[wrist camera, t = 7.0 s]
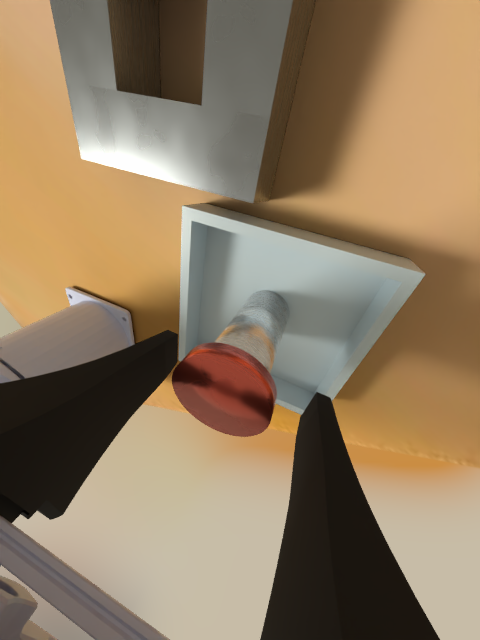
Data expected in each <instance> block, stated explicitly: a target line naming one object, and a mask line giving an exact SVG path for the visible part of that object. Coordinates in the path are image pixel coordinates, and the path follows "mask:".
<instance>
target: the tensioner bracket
mask: <svg viewBox="0 0 480 640" xmlns="http://www.w3.org/2000/svg"><path fill="white" fill-rule="evenodd" d="M315 1H316V0H208V1H207V19H206V36H205V54H204V71H203V89H202V105H196V104H190V103H185V102H179V101H173V100H168V99H162V98H161V94H160V50H159V6H158V0H50V4H51V9H52V14H53V19H54V24H55V29H56V34H57V39H58V44H59V49H60V54H61V59H62V64H63V69H64V74H65V79H66V84H67V89H68V94H69V99H70V104H71V109H72V114H73V119H74V124H75V129H76V134H77V139H78V144H79V149H80V154H81V159H84V160H88V161H92V162H96V163H100V164H103V165H107V166H111V167H115V168H119V169H123V170H126V171H130V172H134V173H138V174H142V175H146V176H149V177H153V178H157V179H161V180H165V181H169V182H173V183H176V184H180V185H184V186H188V187H192V188H196V189H199V190H203V191H207V192H211V193H215V194H219V195H222V196H226V197H230V198H234V199H238V200H242V201H246V202H249V203H258V202H263V201H269V199H270V195H271V190H272V186H273V182H274V177H275V173H276V169H277V164H278V160H279V156H280V152H281V147H282V143H283V139H284V134H285V130H286V126H287V121H288V117H289V113H290V109H291V104H292V100H293V96H294V91H295V87H296V83H297V78H298V74H299V70H300V66H301V61H302V57H303V53H304V48H305V44H306V40H307V35H308V31H309V27H310V23H311V18H312V14H313V10H314V5H315Z"/></svg>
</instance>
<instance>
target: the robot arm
mask: <svg viewBox="0 0 480 640" xmlns="http://www.w3.org/2000/svg"><path fill="white" fill-rule="evenodd" d="M66 293H67V296H68V299H69V302H70V305H71V306H70V307H68V308H65V309H63V310H61V311H59V312H56V313H54V314H52V315H50V316H48V317H45V318H43V319H41V320H39V321H36V322H34V323H32V324H30V325H28V326H25V327H23V328H21V329H19V330H16V331H14V332H12V333H10V334H8V335H5V336H3V337H1V338H0V566H1V565H2V566H3V567H4V568H6V569H7V570H8V571H10V572H11V573H12V574H13V575H15V576H16V577H17V578H18V579H20V580H21V581H22V582H24V583H25V584H26V585H27V586H29V587H30V588H31V589H32V590H33V591H35V592H36V593H37V594H38V595H40V596H41V597H42V598H43V599H45V600H46V601H47V602H49V603H50V604H51V605H52V606H54V607H55V608H56V609H57V610H59V611H60V612H61V613H62V614H64V615H65V616H66V617H68V618H69V619H70V620H71V621H73V622H74V623H75V624H76V625H78V626H79V627H80V628H81V629H82V630H84V631H85V632H86V633H88V634H89V635H90V636H91V637H93V638H94V639H95V640H170V639H168V638H167V637H165V636H164V635H163V634H161V633H160V632H159V631H157V630H156V629H155V628H153V627H152V626H151V625H149V624H148V623H146V622H145V621H144V620H142V619H141V618H139V617H138V616H137V615H135V614H134V613H133V612H131V611H130V610H129V609H127V608H126V607H125V606H123V605H122V604H121V603H119V602H118V601H116V600H115V599H114V598H112V597H111V596H110V595H108V594H107V593H105V592H104V591H103V590H101V589H100V588H99V587H97V586H96V585H95V584H93V583H92V582H91V581H89V580H88V579H86V578H85V577H84V576H82V575H81V574H80V573H78V572H77V571H76V570H74V569H73V568H71V567H70V566H69V565H67V564H66V563H64V562H63V561H62V560H61V559H59V558H58V557H56V556H55V555H54V554H52V553H51V552H50V551H48V550H47V549H45V548H44V547H43V546H41V545H40V544H39V543H37V542H36V541H34V540H33V539H32V538H31V537H29V536H28V535H26V534H25V533H24V532H22V531H21V530H20V529H18V528H17V527H16V526H14V525H13V524H11V523H12V522H13V521H14V520H15V519H16V518H17V517H18V516H19V515H20V514H21V515H23V516H24V517H26V518H27V519H29V518H30V517H31V516H32V515H33V514H34V513H35V512H36V511H39V512H40V513H42V514H43V515H45V516H46V517H47V518H49V519H54V518H57V517H59V516H61V515H63V514H64V512H65V510H66V509H67V507H68V506H69V504H70V503H71V501H72V499H73V498H74V496H75V494H76V493H77V492H78V490H79V489H80V487H81V486H82V484H83V482H84V481H85V479H86V478H87V477H88V475H89V474H90V472H91V471H92V469H93V468H94V466H95V465H96V463H97V462H98V460H99V459H100V458H101V456H102V455H103V453H104V452H105V451H106V449H107V448H108V447H109V445H110V444H111V442H112V441H113V439H114V438H115V437H116V436H117V434H118V433H119V431H120V430H121V429H122V428H123V426H124V425H125V424H126V422H127V421H128V420H129V419H130V417H131V416H132V415H133V414H134V413H135V412H136V410H137V409H138V408H139V407H140V406H141V405H142V404H143V403H144V402H145V401H146V400H147V398H148V397H149V396H150V395H151V394H152V393H153V392H154V391H155V390H156V389H157V387H158V386H159V385H160V384H161V383H162V382H163V381H164V380H165V378H166V377H167V376H168V374H169V373H170V372H171V370H172V369H173V367H174V366H175V364H176V363H177V350H178V334H176V333H174V332H171V331H169V330H167V331H164V332H162V333H160V334H157V335H155V336H153V337H151V338H148V339H146V340H144V341H141V342H139V343H137V344H135V343H134V336H133V328H132V321H131V314H130V312H129V311H128V310H126V309H124V308H121V307H119V306H116V305H114V304H111V303H109V302H106V301H104V300H102V299H99V298H97V297H94V296H92V295H89V294H87V293H85V292H82V291H80V290H77V289H75V288H72V287H67V288H66ZM37 604H38V603H37V602H36V600H35V599H34V598H33V597H32V595H31V594H30V593H29V592H28V591H27V590H26V589H25V588H24V587H23V586H21V585H20V584H18V583H17V582H14V581H12V580H10V579H7V578H5V577H2V576H0V640H58V639H56V638H55V637H53V636H52V635H50V634H49V633H48V632H46V631H45V630H43V629H42V628H40V627H39V626H37V625H36V624H35V623H33V622H32V621H30V620H29V618H30V617H31V615H32V614H33V613H34V611H35V610H36V608H37ZM260 640H440V639H439V637H438V635H437V634H436V632H435V630H434V629H433V627H432V625H431V623H430V622H429V620H428V618H427V616H426V614H425V613H424V611H423V609H422V607H421V606H420V604H419V602H418V600H417V599H416V597H415V595H414V593H413V591H412V589H411V587H410V586H409V584H408V582H407V580H406V578H405V576H404V574H403V572H402V570H401V569H400V567H399V565H398V563H397V561H396V559H395V557H394V555H393V554H392V552H391V550H390V548H389V546H388V544H387V542H386V540H385V538H384V536H383V534H382V532H381V530H380V528H379V525H378V524H377V521H376V519H375V517H374V515H373V513H372V511H371V508H370V506H369V504H368V502H367V500H366V497H365V495H364V493H363V490H362V488H361V486H360V483H359V481H358V478H357V476H356V473H355V471H354V468H353V465H352V463H351V460H350V457H349V455H348V452H347V449H346V446H345V443H344V440H343V437H342V434H341V431H340V428H339V425H338V421H337V418H336V415H335V411H334V408H333V404H332V400H331V398H330V397H328V396H326V395H323V394H321V393H318V392H316V393H315V395H314V396H313V398H312V400H311V401H310V403H309V404H308V406H307V407H306V409H305V411H304V412H303V414H302V415H301V417H300V422H299V426H298V431H297V436H296V443H295V452H294V462H293V472H292V483H291V493H290V500H289V507H288V512H287V518H286V523H285V529H284V534H283V539H282V544H281V549H280V554H279V559H278V564H277V569H276V573H275V578H274V583H273V587H272V591H271V596H270V600H269V605H268V609H267V613H266V618H265V622H264V626H263V631H262V635H261V639H260Z"/></svg>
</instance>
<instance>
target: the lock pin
mask: <svg viewBox="0 0 480 640" xmlns="http://www.w3.org/2000/svg"><path fill="white" fill-rule="evenodd" d="M288 319H289V307H288V304H287V302H286V301H285V300H284V299H283V297H281V296H280V295H279V294H277V293H275V292H272V291H268V290H261V291H257V292H255V293H253V294H252V295H251V296H250V297H249V298H248V299H247V300H246V302H245V303H244V304H243V306H242V307H241V308H240V310H239V311H238V312H237V313H236V315H235V316H234V317H233V319H232V320H231V321H230V322H229V324H228V325H227V326H226V328H225V329H224V330H223V331H222V333H221V334H220V335H219V337H218V338H217V339H216V341H215V342H212V343H204V344H201V345H198V346H196V347H194V348H193V349H192V350H191V351H190V352H189V353H188V354H187V355H186V357H185V358H184V359H183V360H182V361H181V362H180V363H179V365H178V366H177V367H176V368H175V370H174V372H173V375H172V384H173V388H174V391H175V394H176V396H177V397H178V399H179V401H180V402H181V404H182V405H183V406H184V407H185V408H186V409H187V411H188V412H189V413H191V414H192V415H193V416H194V417H195V418H197V419H198V420H199V421H201V422H202V423H204V424H205V425H207V426H209V427H211V428H213V429H215V430H217V431H220V432H222V433H225V434H229V435H233V436H243V437H246V436H247V437H248V436H254V435H257V434H260V433H262V432H263V431H264V430H265V429H266V428H267V427H268V426H269V424H270V421H271V418H272V414H273V410H274V406H275V403H276V399H277V389H276V385H275V382H274V380H273V378H272V376H271V375H270V372H271V369H272V366H273V363H274V360H275V357H276V354H277V351H278V348H279V345H280V342H281V339H282V336H283V334H284V331H285V328H286V325H287V322H288Z"/></svg>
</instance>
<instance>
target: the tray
mask: <svg viewBox="0 0 480 640" xmlns="http://www.w3.org/2000/svg"><path fill="white" fill-rule="evenodd" d="M425 275H426V274H425V273H424V272H423V271H422V270H421V269H420V268H419V267H418V266H417V265H416V264H414V263H413V262H412V261H411V260H410V259H409V258H405V257H401V256H398V255H394V254H390V253H387V252H383V251H379V250H376V249H372V248H368V247H365V246H361V245H357V244H354V243H350V242H346V241H343V240H339V239H335V238H331V237H328V236H324V235H320V234H317V233H313V232H309V231H306V230H302V229H298V228H295V227H291V226H287V225H284V224H280V223H276V222H273V221H269V220H265V219H262V218H258V217H254V216H251V215H247V214H243V213H240V212H236V211H232V210H229V209H225V208H221V207H218V206H214V205H210V204H207V203H200V204H192V205H183V206H182V236H181V278H180V320H179V361H182V360H183V359H184V358H185V357H186V355H187V354H188V353H189V352H190V351H191V350H192V349H193V348H194V347H196V346H198V345H201V344H204V343H212V342H215V341H216V339H217V338H218V337H219V335H220V334H221V333H222V331H223V330H224V329H225V328H226V326H227V325H228V324H229V322H230V321H231V320H232V319H233V317H234V316H235V315H236V313H237V312H238V311H239V310H240V308H241V307H242V306H243V304H244V303H245V302H246V300H247V299H248V298H249V297H250V296H251V295H252V294H253V293H255V292H257V291H261V290H268V291H272V292H275V293H277V294H279V295H280V296H281V297H283V299H284V300H285V301H286V302H287V304H288V307H289V319H288V322H287V325H286V328H285V331H284V334H283V336H282V339H281V342H280V345H279V348H278V351H277V354H276V357H275V360H274V363H273V366H272V369H271V372H270V375H271V376H272V378H273V380H274V382H275V385H276V389H277V399H276V404H278V405H281V406H283V407H285V408H287V409H290V410H292V411H294V412H296V413H299V414H301V415H302V414H303V412H304V411H305V409H306V407H307V406H308V404H309V403H310V401H311V400H312V398H313V396H314V395H315V393H316V392H318V393H321V394H323V395H326V396H328V397H330V398H331V400H333V399H334V398H335V396H336V395H337V393H338V392H339V391H340V389H341V388H342V387H343V385H344V384H345V383H346V381H347V380H348V379H349V377H350V376H351V375H352V373H353V372H354V371H355V369H356V368H357V366H358V365H359V364H360V362H361V361H362V360H363V358H364V357H365V356H366V354H367V353H368V352H369V350H370V349H371V348H372V346H373V345H374V343H375V342H376V341H377V339H378V338H379V337H380V335H381V334H382V333H383V331H384V330H385V329H386V327H387V326H388V325H389V323H390V322H391V321H392V319H393V318H394V316H395V315H396V314H397V312H398V311H399V310H400V308H401V307H402V306H403V304H404V303H405V302H406V300H407V299H408V298H409V296H410V295H411V294H412V292H413V291H414V289H415V288H416V287H417V285H418V284H419V283H420V281H421V280H422V279H423V277H424V276H425Z"/></svg>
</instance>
